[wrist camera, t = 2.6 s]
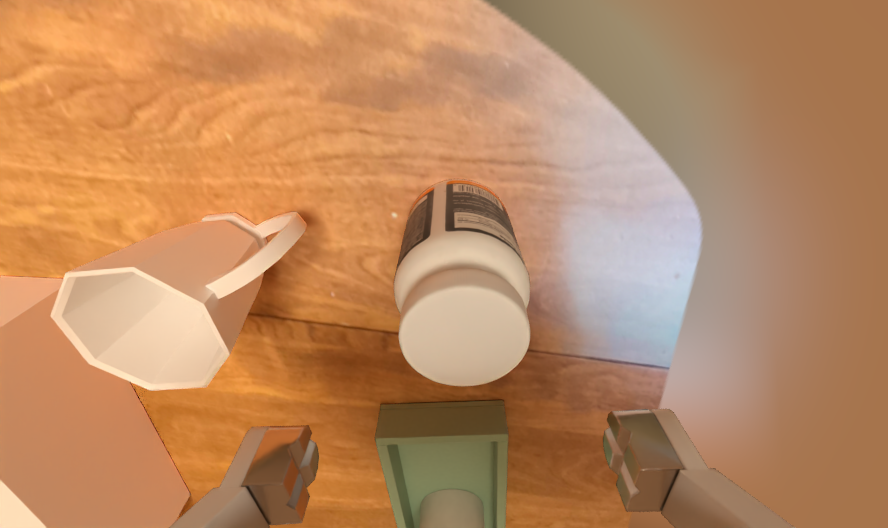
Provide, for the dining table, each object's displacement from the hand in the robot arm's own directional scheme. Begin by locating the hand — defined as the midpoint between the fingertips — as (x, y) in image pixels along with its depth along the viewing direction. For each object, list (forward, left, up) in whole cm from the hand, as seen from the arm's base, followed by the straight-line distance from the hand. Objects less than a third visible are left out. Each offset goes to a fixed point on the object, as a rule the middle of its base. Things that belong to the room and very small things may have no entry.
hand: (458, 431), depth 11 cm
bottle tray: (+2, +28, -13) cm, 31 cm away
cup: (+12, 0, -14) cm, 18 cm away
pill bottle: (0, 0, -14) cm, 14 cm away
